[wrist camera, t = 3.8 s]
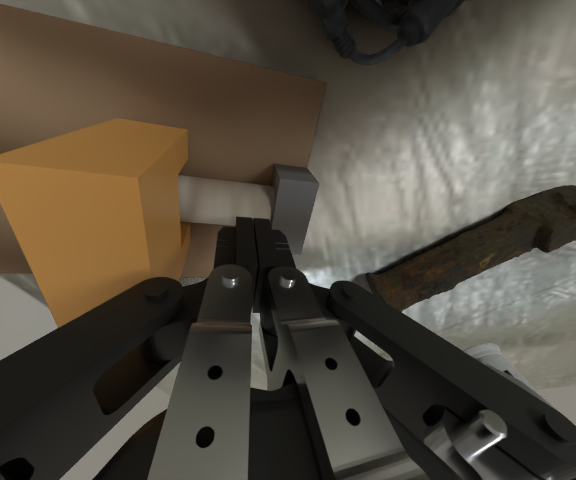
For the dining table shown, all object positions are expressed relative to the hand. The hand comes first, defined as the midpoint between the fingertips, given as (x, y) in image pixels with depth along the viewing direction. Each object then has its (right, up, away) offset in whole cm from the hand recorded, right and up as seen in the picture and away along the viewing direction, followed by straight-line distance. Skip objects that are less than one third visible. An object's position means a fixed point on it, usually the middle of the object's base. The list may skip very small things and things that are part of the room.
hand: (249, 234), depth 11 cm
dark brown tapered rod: (+17, +1, +11) cm, 20 cm away
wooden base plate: (-6, +4, +3) cm, 8 cm away
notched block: (-5, +3, +2) cm, 6 cm away
